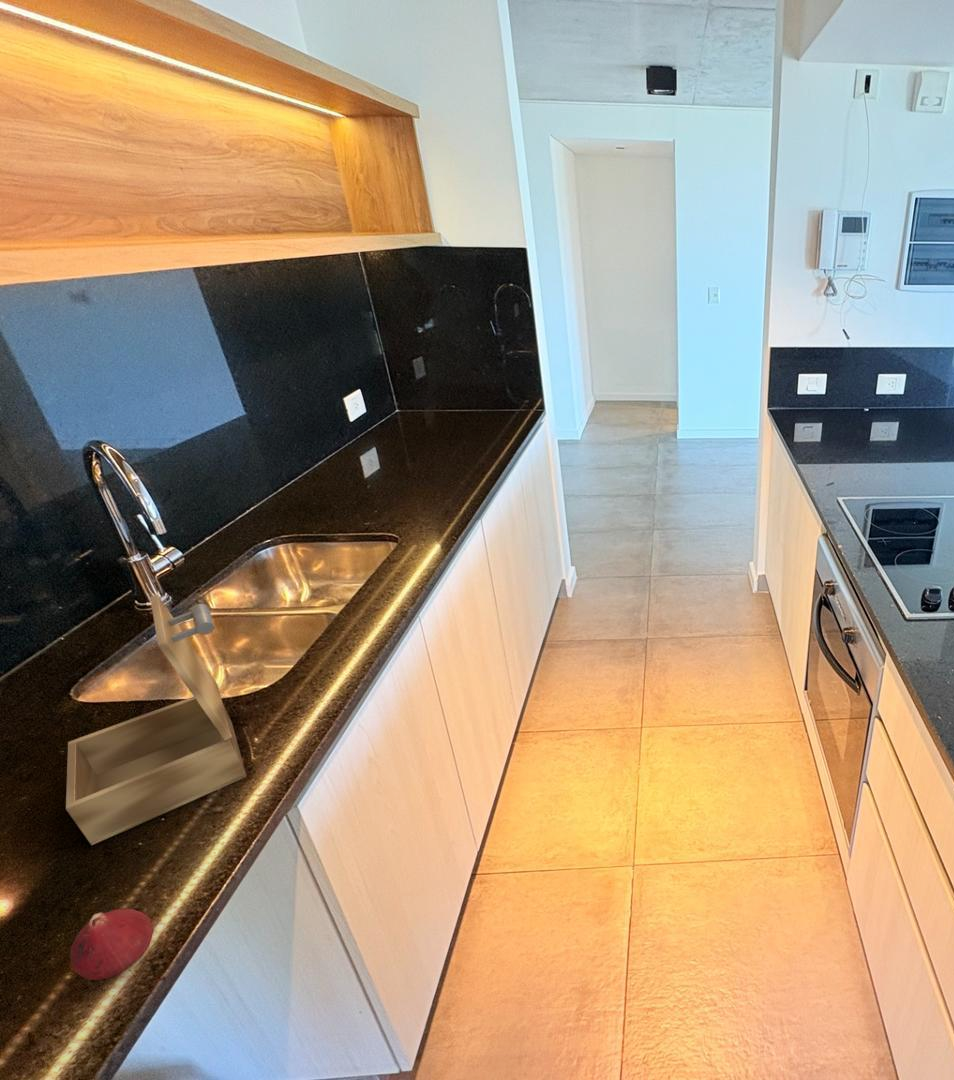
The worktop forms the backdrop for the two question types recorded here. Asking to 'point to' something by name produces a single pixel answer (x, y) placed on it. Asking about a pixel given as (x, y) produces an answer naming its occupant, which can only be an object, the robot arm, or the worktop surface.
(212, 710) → the lid
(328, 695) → the worktop surface
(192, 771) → the breadbox
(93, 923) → the onion
